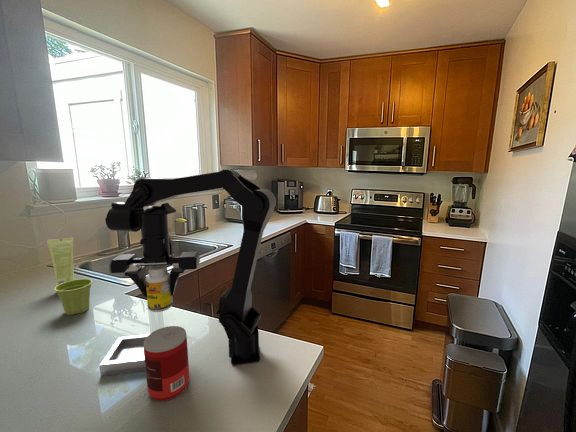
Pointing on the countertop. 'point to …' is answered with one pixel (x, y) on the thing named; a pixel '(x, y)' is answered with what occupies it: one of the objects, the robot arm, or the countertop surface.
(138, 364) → the square metal tray
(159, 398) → the canned food
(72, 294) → the plant pot
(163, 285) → the supplement bottle
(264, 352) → the countertop surface
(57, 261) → the tube
